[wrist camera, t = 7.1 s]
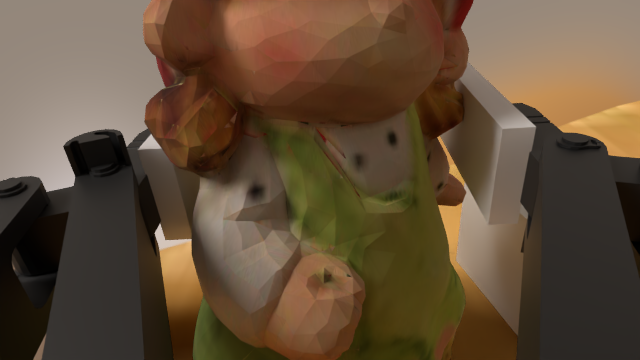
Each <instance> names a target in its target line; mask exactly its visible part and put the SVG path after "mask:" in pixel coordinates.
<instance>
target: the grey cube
mask: <svg viewBox="0 0 640 360" xmlns="http://www.w3.org/2000/svg"><path fill="white" fill-rule="evenodd" d="M464 189H465V190H466V195H465V198H464V201H463V203H462V212H461V220H460V229H459V238H458V247H457V256H456V261H457V262H458V263H459V265H460V266H461V267H462V268H463V270H464V271H465V272H466V273H467V274H468V276H469V277H470V278H471V279H472V281H473V282H474V283H475V284H476V285H477V287H478V288H479V289H480V290H481V292H482V293H483V294H484V295H485V297H486V298H487V299H488V300H489V301H490V303H491V304H492V305H493V306H494V308H495V309H496V310H497V311H498V313H499V314H500V315H501V316H502V317H503V319H504V320H505V321H506V322H507V324H508V325H509V326H510V327H511V328H512V330H513V331H514V332H515V333H516V335H517V336H518V327H519V313H520V298H521V283H522V269H523V254H524V253H521V247H522V242H523V237H524V232H525V227H526V223H527V218H528V212H527V211H526V210H525V208H524V207H523V205H522V204H521V208H520V214H519V219H518V223H517V224H495V225H488V224H487V222H486V220H485V218H484V216H483V214H482V213H481V211H480V209H479V207H478V205H477V203H476V201H475V200H474V198H473V196H472V194H471V192H470V190H469V189H468V187H467V185H466V183H465V185H464Z"/></svg>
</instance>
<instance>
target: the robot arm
mask: <svg viewBox="0 0 640 360" xmlns="http://www.w3.org/2000/svg"><path fill="white" fill-rule="evenodd" d="M454 86H455V89H456V91H458V92H460V93H462V95H463V107H464V116H463V121H462V122H461V123H459V124H458V125H456V126H455V127H454V128H452V129H450V130H448V131H447V132H445V133H443V134H442V135H440V137H441V138H442V140H443V142H444V144H445V146H446V148H447V150H448V152H449V153H450V155H451V157H452V159H453V161H454V163H455V164H456V166H457V168H458V170H459V172H460V174H461V176H462V177H463V179H464V181H465V183H466V185H467V187H468V189H469V190H470V192H471V194H472V196H473V198H474V200H475V201H476V203H477V205H478V207H479V209H480V211H481V213H482V214H483V216H484V218H485V220H486V222H487V224H488V225H495V224H517V223H518V219H519V214H520V208H521V204H522V205H523V207H524V208H525V210H526V211H527V212H528V218H527V223H526V227H525V232H524V237H523V242H522V247H521V253H524V254H523V269H522V283H521V298H520V313H519V327H518V342H517V356H516V360H640V158H630V157H618V156H610V155H608V151H607V147H606V146H605V145H604V143H603V142H601V141H599V140H598V139H596V138H593V137H590V136H587V135H583V134H578V133H563V132H562V131H561V130H560V129H558V128H557V127H556V126H555V125H554V124H552V123H550V121H549V120H548V119H547V118H546V117H543V115H542V114H541V113H540V112H539V111H537V110H536V109H535V108H532V107H530V106H528V105H525V104H523V103H514V104H512V103H511V102H509V101H508V100H507V99H506V98H505V97H504V96H503V95H502V94H501V93H500V92H499V91H498V90H497V89H496V88H495V87H494V86H493V85H491V83H489V82H488V81H487V80H486V79H485V78H484V77H483V76H482V75H481V74H480V73H479V72H478V71H477V70H476V69H475V68H474V67H473V66H472V65H470V63H468V62H467V67H466V70H465V72H464V74H463V76H462V77H461V78H459V79H458V80H457V81H455V82H454ZM63 147H64V150H65V152H66V154H67V157H68V160H69V162H70V164H71V167H72V169H73V172H74V174H75V183H74V186H72V187H69V188H64V189H59V190H54V191H49V192H46V190H45V188H44V186H43V183H42V181H41V180H40V179H39V178H37V177H32V176H30V177H19V178H9V179H7V180H3V181H0V360H33V359H34V357H35V355H36V353H37V351H38V349H39V347H40V345H41V343H42V341H43V339H44V337H45V335H46V338H45V343H44V349H43V354H42V359H41V360H174V358H173V351H172V343H171V336H170V328H169V321H168V313H167V306H166V298H165V291H164V283H163V276H162V268H161V261H160V253H159V247H158V243H157V240H156V237H155V234H154V233H155V231H156V229H157V228H158V226H159V224H161V227H162V230H163V233H164V236H165V240H178V239H192V222H193V211H194V207H195V203H196V200H197V196H198V193H199V189H200V176H199V175H197V174H195V173H193V172H190V171H186V170H183V169H179V168H178V167H177V166H175V165H174V164H173V163H172V162H171V161H170V160H169V158H168V157H167V156H166V154H165V153H164V151H163V150H162V148H161V147H160V145H159V144H158V143H157V142H156V140H155V139H154V138H153V136H152V134H151V133H150V131H149V129H147V130H145V131H143V132H141V133H139V135H138V136H137V137H136V138H135V139H134V140H133V142H131V143H130V144H129V145H128V147H126V144H125V141H124V138H123V135H122V133H121V132H120V131H117V130H107V129H105V130H97V131H93V132H88V133H84V134H82V135H79V136H77V137H74V138H72V139H71V140H69V141H68V142H66V144H65V145H64V146H63ZM12 264H13V265H12ZM13 266H14V268H15V270H14V269H13Z"/></svg>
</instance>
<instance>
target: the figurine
mask: <svg viewBox="0 0 640 360" xmlns="http://www.w3.org/2000/svg"><path fill="white" fill-rule="evenodd" d="M472 4H473V0H152V1H151V2H150V4H149V5H148V7H147V8H146V10H145V12H144V14H143V35H144V41H145V44H146V45H147V47H148V48H149V50H150V51H151V52H152V54H154V55H155V56H156V59H157V64H158V68H159V71H160V74H161V76H162V79H163V82H164V84H165V86H166V88H164V89H162V90H161V91H159V92H158V93H157V94H156V95H155V96H154V97H153V98H151V100H150V101H149V103H148V104H147V105H146V113H145V124H146V125H147V127H148V129H149V131H150V133H151V134H152V136H153V138H154V139H155V140H156V142H157V143H158V144H159V145H160V147H161V148H162V150H163V151H164V153H165V154H166V156H167V157H168V158H169V160H170V161H171V162H172V163H173V164H174V165H175V166H177V167H178V168H179V169H183V170H186V171H190V172H193V173H195V174H197V175H199V176H200V189H199V193H198V196H197V200H196V203H195V207H194V211H193V222H192V257H193V261H194V265H195V268H196V272H197V276H198V279H199V282H200V285H201V288H202V292H203V299H202V303H201V306H200V310H199V313H198V318H197V323H196V328H195V335H194V344H193V360H450V358H451V355H452V347H451V345H452V343H453V341H454V337H455V333H456V330H457V328H458V326H459V324H460V322H461V318H462V315H463V311H464V308H465V304H466V301H465V293H464V288H463V286H462V283H461V281H460V278H459V276H458V274H457V273H456V271H455V269H454V268H453V266H452V264H451V262H450V258H449V245H448V240H447V235H446V231H445V228H444V224H443V221H442V218H441V214H440V211H439V207H438V205H446V206H457V205H459V204H460V203H462V202H463V201H464V198H465V195H466V190H465V189H464V187H463V185H462V184H461V182H460V181H459V180H457V179H456V178H455V177H454V176H453V175H451V174H449V169H450V167H449V164H448V160H447V156H446V154H445V152H444V150H443V148H442V146H441V144H440V142H439V140H438V138H437V137H438V136H440V135H442V134H443V133H445V132H447V131H448V130H450V129H452V128H454V127H455V126H456V125H458V124H459V123H461V122H462V121H463V116H464V107H463V95H462V93H460V92H458V91H456V89H455V86H454V82H455V81H457V80H458V79H459V78H461V77H462V76H463V74H464V72H465V70H466V67H467V62H468V53H469V48H468V44H467V40H466V37H465V35H464V33H463V31H462V29H461V26H462V24H463V22H464V20H465V18H466V15H467V14H468V12H469V10H470V8H471V6H472Z"/></svg>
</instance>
